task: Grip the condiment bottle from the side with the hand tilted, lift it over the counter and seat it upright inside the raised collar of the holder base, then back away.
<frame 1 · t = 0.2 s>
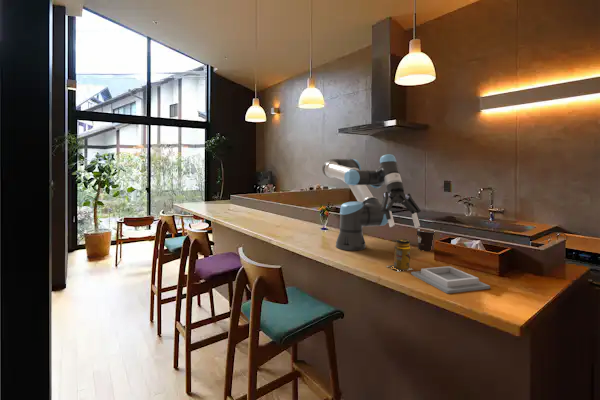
hand: (405, 226, 146), 16 cm above the countertop, tool tilted 35°, fingers open, 13 cm apart
coffee mug: (424, 249, 170), on the countertop
holder: (448, 281, 123), on the countertop
condiment: (399, 268, 138), on the countertop
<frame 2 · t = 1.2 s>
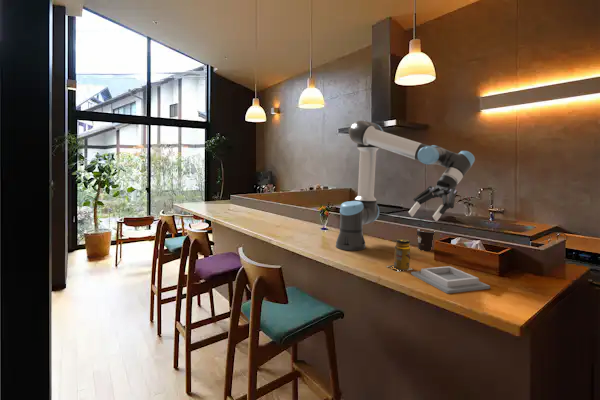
hand: (421, 216, 140), 21 cm above the countertop, tool tilted 45°, fingers open, 13 cm apart
nothing on the countertop moved.
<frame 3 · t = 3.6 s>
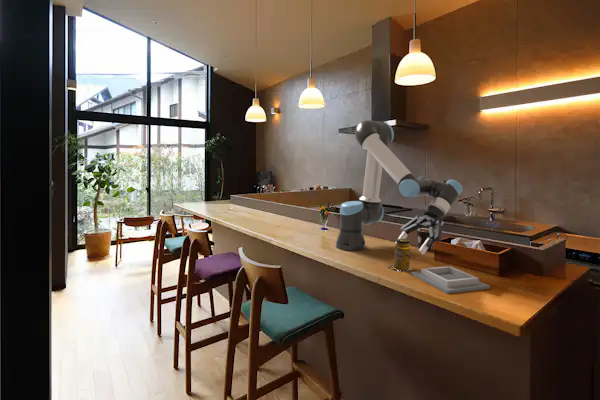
hand: (408, 248, 137), 8 cm above the countertop, tool tilted 45°, fingers open, 13 cm apart
nothing on the countertop moved.
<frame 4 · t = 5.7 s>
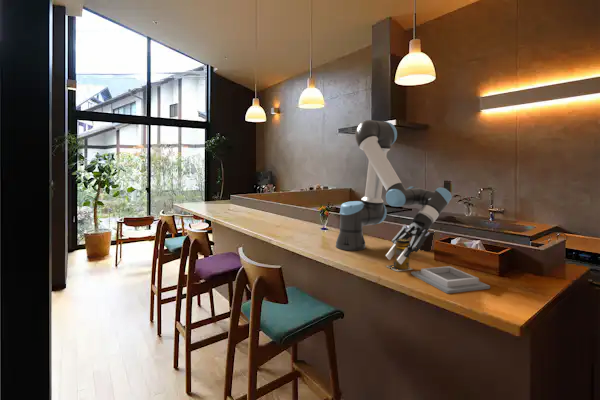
hand: (393, 259, 136), 4 cm above the countertop, tool tilted 45°, fingers closed on condiment, 6 cm apart
condiment: (399, 268, 138), on the countertop, touching gripper
everything else where it was.
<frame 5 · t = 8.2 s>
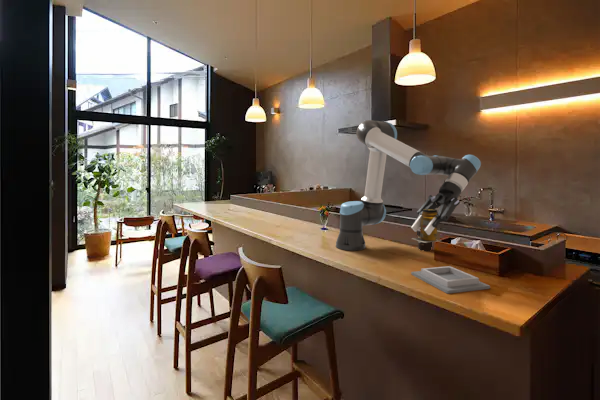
hand: (420, 230, 126), 18 cm above the countertop, tool tilted 45°, fingers closed on condiment, 6 cm apart
condiment: (426, 240, 128), point 14 cm above the countertop, touching gripper
everything else where it was.
when the fingers open (6 cm above the countertop, at t = 10.9 s): condiment drops 1 cm, resting on holder.
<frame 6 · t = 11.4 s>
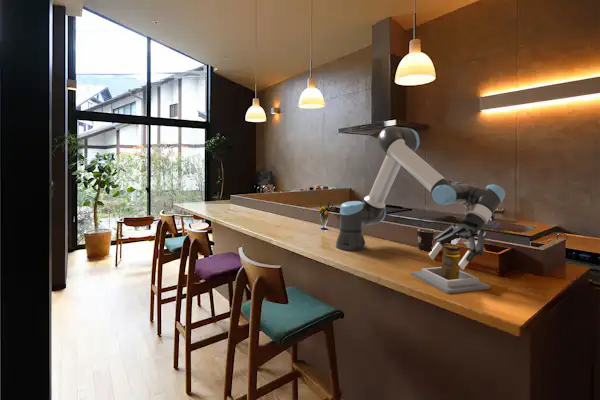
hand: (444, 261, 121), 8 cm above the countertop, tool tilted 45°, fingers open, 13 cm apart
condiment: (447, 278, 123), point 1 cm above the countertop, touching holder
everything else where it was.
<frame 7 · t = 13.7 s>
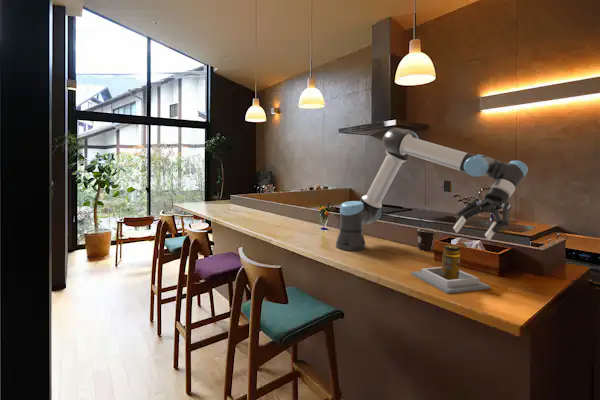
hand: (470, 234, 125), 17 cm above the countertop, tool tilted 45°, fingers open, 13 cm apart
nothing on the countertop moved.
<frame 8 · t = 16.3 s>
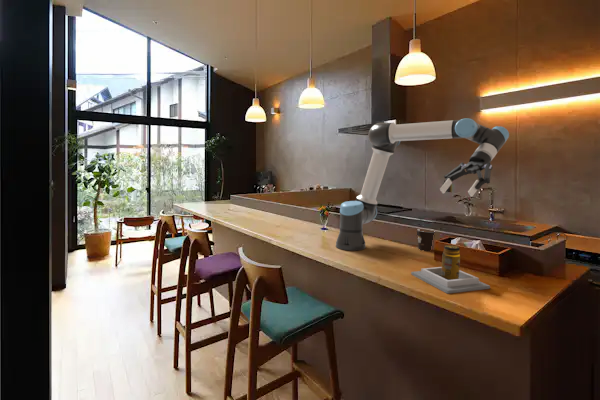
hand: (455, 192, 135), 32 cm above the countertop, tool tilted 45°, fingers open, 13 cm apart
nothing on the countertop moved.
at the end: condiment inside the target area on the holder (0.4 cm from its centre), point 0.8 cm above the holder's base; condiment tilted 0°; the gripper is holding nothing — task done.
